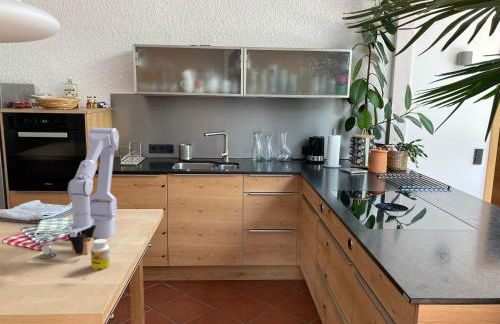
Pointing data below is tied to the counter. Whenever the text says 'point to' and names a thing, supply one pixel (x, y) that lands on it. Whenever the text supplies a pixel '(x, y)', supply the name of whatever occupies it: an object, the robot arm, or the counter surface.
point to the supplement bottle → (100, 255)
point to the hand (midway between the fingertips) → (83, 249)
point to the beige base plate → (59, 254)
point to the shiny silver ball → (47, 252)
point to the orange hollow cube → (85, 246)
